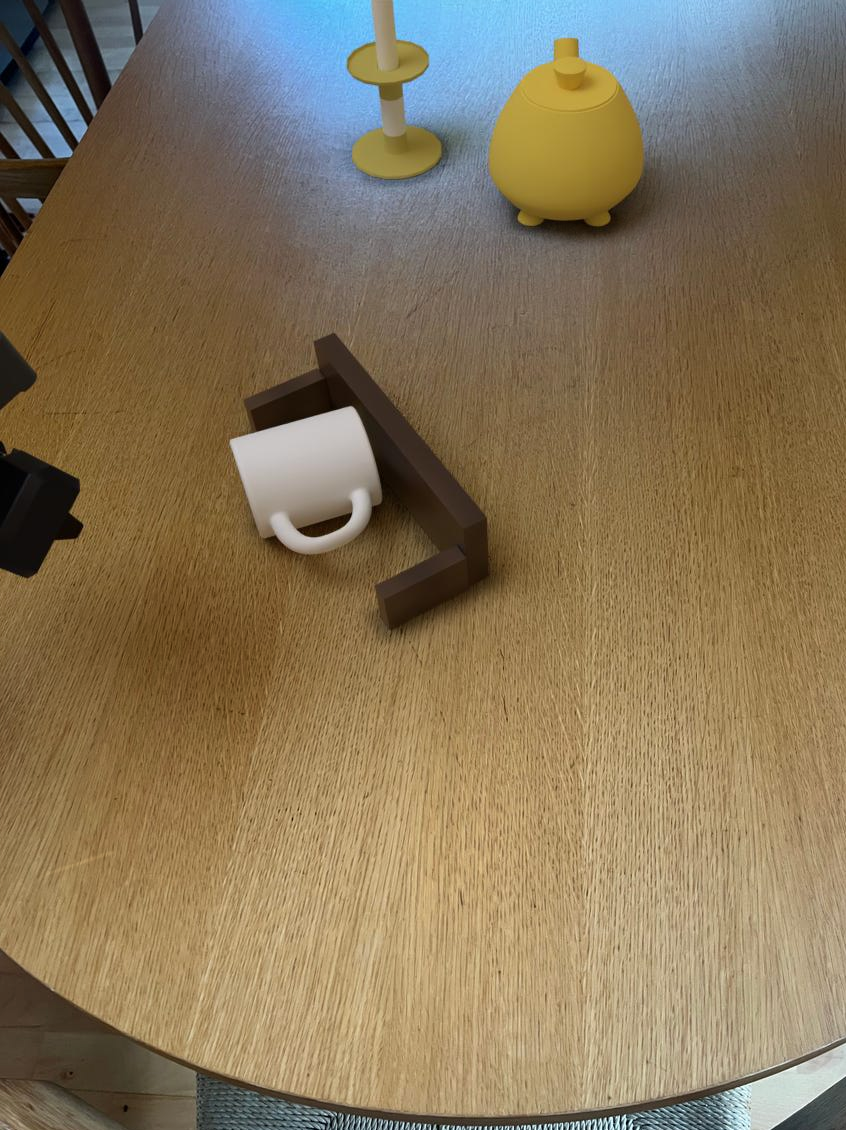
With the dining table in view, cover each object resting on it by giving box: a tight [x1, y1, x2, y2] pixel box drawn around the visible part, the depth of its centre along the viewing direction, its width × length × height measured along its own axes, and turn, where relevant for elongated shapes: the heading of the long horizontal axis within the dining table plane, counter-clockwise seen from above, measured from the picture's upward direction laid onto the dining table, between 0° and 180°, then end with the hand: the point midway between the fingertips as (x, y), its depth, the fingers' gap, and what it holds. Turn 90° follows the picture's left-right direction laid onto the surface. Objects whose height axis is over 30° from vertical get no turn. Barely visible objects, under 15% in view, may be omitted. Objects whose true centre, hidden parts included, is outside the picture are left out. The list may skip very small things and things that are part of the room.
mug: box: [229, 406, 383, 555], centre depth 79 cm, size 12×10×8 cm
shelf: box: [242, 332, 490, 631], centre depth 80 cm, size 9×24×7 cm, turn 32°
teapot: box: [488, 37, 645, 227], centre depth 101 cm, size 20×16×14 cm
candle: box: [346, 0, 443, 180], centre depth 100 cm, size 10×10×27 cm
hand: (78, 530), depth 67 cm, fingers closed
